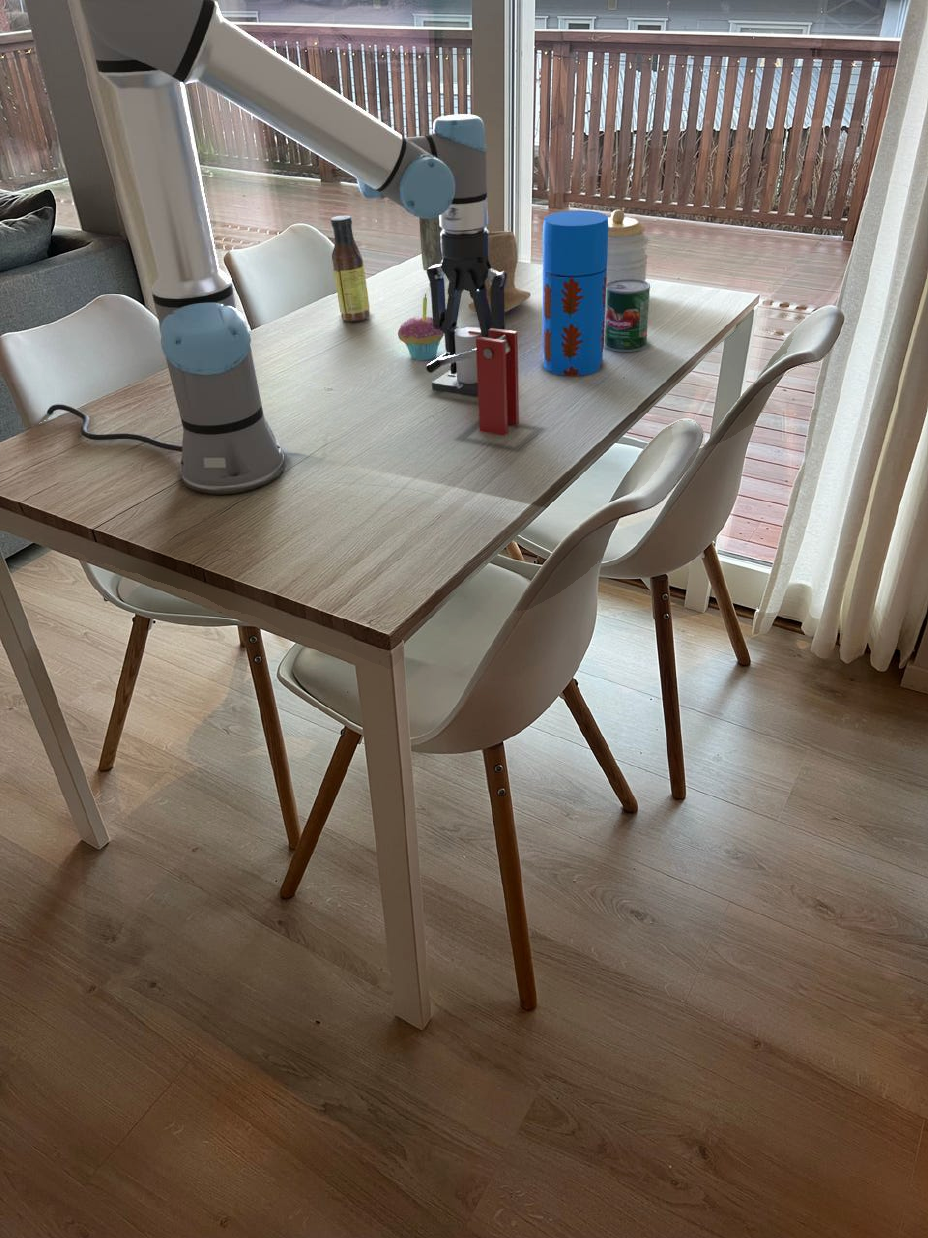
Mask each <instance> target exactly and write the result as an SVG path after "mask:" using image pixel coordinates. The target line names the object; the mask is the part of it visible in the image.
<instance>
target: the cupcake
mask: <svg viewBox="0 0 928 1238" xmlns="http://www.w3.org/2000/svg"><path fill="white" fill-rule="evenodd" d="M427 305H428V297H427V293H425V294H424V297H423V301H422V316H420V317H419V316H417V317H416V316H414V317H411V318H409V319H406V321H404V322H403V323H402V324H401V325H400V326H399V329H398V331H397V336H398V339H399V340H400V341H401V342H402V343H404V344H405V345H406V347H407V350H408V352H409V355H410V357H411V359H412V360H416V361H428V360H432V359H434V358H436V356H437V353H438V349H439V347H440V342H441V340H442V339H443V337H445V335H444V333H443V331H441V330H439V329H435V328H434V327H433V317H430V316H427V312H428V311H427V310H428V309H427V307H428V306H427Z"/></svg>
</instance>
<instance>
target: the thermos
mask: <svg viewBox="0 0 928 1238" xmlns="http://www.w3.org/2000/svg"><path fill="white" fill-rule="evenodd" d="M608 218H609V216H608V215H607V214H606V213H602V212H599V211H592V210H566V211H559V212H555V213H550V214H548V215H547V216H545V217H544V218H543V226H542V357H543V368H544V370H546V371H547V372H549V373H551V374H554V375H558V376H563V377H564V376H566V377H580V376H587V375H591V374H594V373H597V372H598V371H599V370H601V369H602V366H603V358H604V347H605V346H604V342H605V312H606V282H607V258H608V233H609V225H608Z"/></svg>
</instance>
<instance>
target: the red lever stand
mask: <svg viewBox="0 0 928 1238" xmlns="http://www.w3.org/2000/svg"><path fill="white" fill-rule="evenodd" d="M488 333H489V338H485V337H478V338H476V357H477V380H478V397H477V400H478V401H477V402H478V421H479V422H478V423H479V427H478V428H479V432H483V433H487V434H488V433H489V434H493V435H498V436H503V437H504V436H506V435H508V433H509V431H508V425H511V426H518V425H519V424H520V399H519V397H520V392H519V391H520V390H519V389H520V388H519V387H520V386H519V331H517V330H509V329H505V330H503V329H495V328H491V329H489V330H488ZM503 335H506V338H507V341H508V344H509V346H510V349H511V350H510V351H509V352H508V353H506V343H505V340H499V339H492V338H496V337H499V336H503Z"/></svg>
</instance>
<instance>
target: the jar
mask: <svg viewBox="0 0 928 1238" xmlns="http://www.w3.org/2000/svg"><path fill="white" fill-rule="evenodd" d="M608 225H609V233H608V258H607V282H606V285H607V284H608V283H609V282H611V281H615V280H620V279H636V280H642V281H645V282H646V278H647V265H648V264H647V263H648V259H649V257H648V254H647V245H648V244H649V242H650V239H649V238H648V236H647V235H645V234H644V232H645V231H646V226H645V225H644V224H642V222H640V221H639V220H638V219H636V218H633V217H626V216H625V213H624V211H623V210H621V209H614V210H613V211H612V213H611V216H610V217H608Z"/></svg>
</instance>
